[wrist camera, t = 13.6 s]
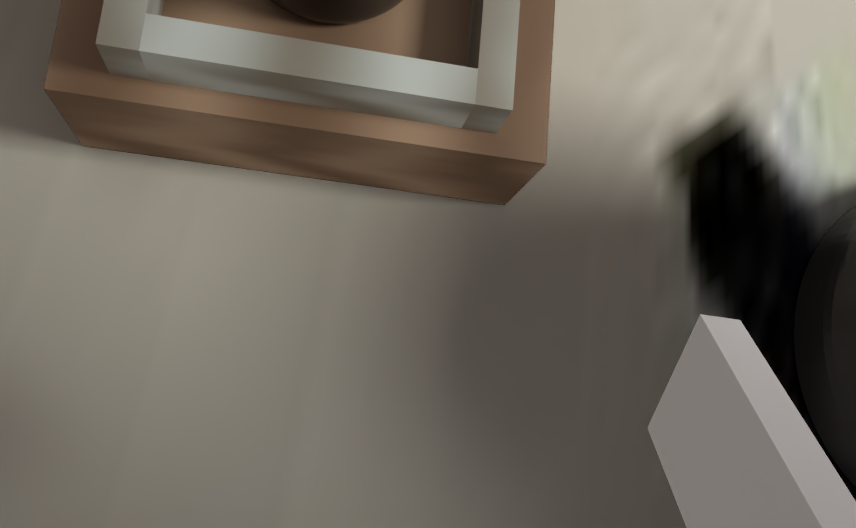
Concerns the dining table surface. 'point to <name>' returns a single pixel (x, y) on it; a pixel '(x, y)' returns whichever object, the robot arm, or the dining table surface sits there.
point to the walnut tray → (316, 89)
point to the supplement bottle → (337, 9)
